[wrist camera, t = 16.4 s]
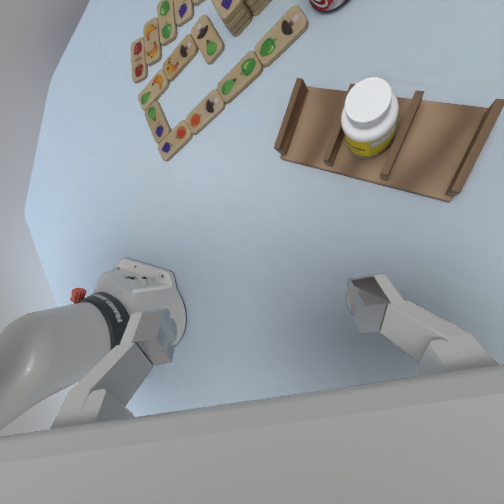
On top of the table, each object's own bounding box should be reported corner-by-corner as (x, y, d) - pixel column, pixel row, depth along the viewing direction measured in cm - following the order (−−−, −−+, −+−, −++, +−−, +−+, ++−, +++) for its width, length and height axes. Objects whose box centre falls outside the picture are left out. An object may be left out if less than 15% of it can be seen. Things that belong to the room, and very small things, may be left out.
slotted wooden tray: (282, 159, 38) (272, 151, 35) (306, 90, 36) (298, 74, 33) (448, 202, 29) (457, 197, 26) (492, 113, 27) (509, 94, 24)
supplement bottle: (339, 136, 34) (326, 98, 25) (379, 106, 31) (380, 53, 23) (361, 168, 32) (355, 141, 24) (403, 141, 30) (415, 99, 22)
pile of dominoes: (246, -109, 40) (227, -158, 35) (328, 14, 35) (319, -23, 30) (122, 62, 55) (96, 44, 50) (168, 165, 50) (145, 156, 45)
